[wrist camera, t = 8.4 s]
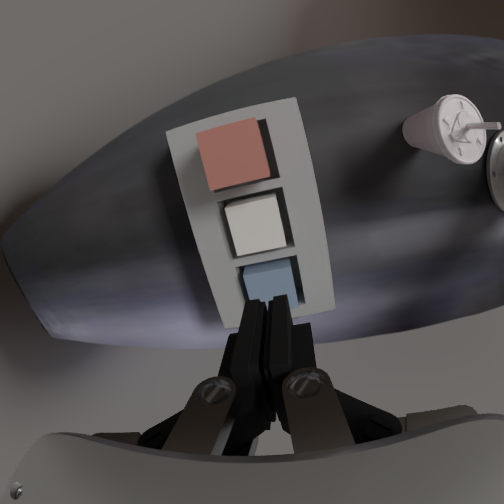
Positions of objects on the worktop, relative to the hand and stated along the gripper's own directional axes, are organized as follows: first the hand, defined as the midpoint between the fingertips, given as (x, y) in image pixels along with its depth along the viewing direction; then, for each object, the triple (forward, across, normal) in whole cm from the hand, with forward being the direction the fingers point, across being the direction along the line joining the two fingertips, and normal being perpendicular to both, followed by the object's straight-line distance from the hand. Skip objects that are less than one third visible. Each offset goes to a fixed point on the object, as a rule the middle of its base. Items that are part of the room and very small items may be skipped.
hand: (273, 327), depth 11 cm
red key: (+15, +2, -7) cm, 17 cm away
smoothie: (+21, -18, -7) cm, 28 cm away
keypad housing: (+20, +2, -1) cm, 20 cm away
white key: (+18, +2, -1) cm, 19 cm away
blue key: (+18, +2, +6) cm, 19 cm away
